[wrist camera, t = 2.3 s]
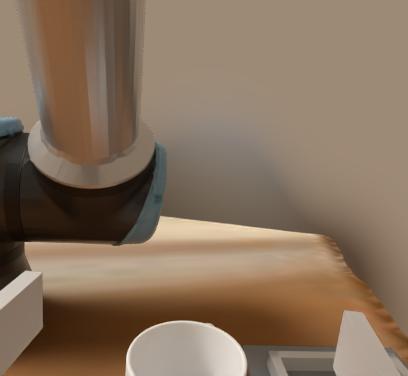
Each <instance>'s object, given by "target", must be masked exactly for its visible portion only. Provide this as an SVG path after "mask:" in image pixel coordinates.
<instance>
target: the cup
mask: <svg viewBox="0 0 408 376" xmlns="http://www.w3.org/2000/svg"><path fill="white" fill-rule="evenodd" d="M246 375H247V359H246V356H245V353H244V351H243V349H242V347H241V346H240V345H239V343H238V342H237V341H236V340H235V339H234V338H233V337H231V336H230V335H229V334H227V333H226V332H224V331H223V330H221V329H219V328H216V327H214V325H213V324H211V323H206V324H205V323H201V322H195V321H170V322H165V323H161V324H158V325H155V326H153V327H150V328H148V329H146V330H145V331H143V332H142V333H141V334H139V335H138V336H137V337H136V338H135V339H134V341H133V342H132V343H131V345H130V347H129V349H128V352H127V356H126V375H125V376H246Z"/></svg>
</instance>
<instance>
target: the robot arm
mask: <svg viewBox="0 0 408 376" xmlns="http://www.w3.org/2000/svg"><path fill="white" fill-rule="evenodd" d="M14 1H15V6H16V11H17V15H18V20H19V24H20V29H21V34H22V38H23V43H24V47H25V52H26V57H27V61H28V66H29V71H30V75H31V80H32V84H33V89H34V94H35V98H36V103H37V108H38V113H39V117H40V120H39V121H38V122H37V123H36V124H35V125H34V127H33V128H32V130H31V132H30V133H24V132H23V130H24V126H23V125H22V123H21V120H20V119H19V118H15V117H12V118H10V117H0V376H2V375H3V374H4V373H5V372H6V370H7V369H8V368H9V367H10V366H11V365H12V363H13V362H14V361H15V360H16V359H17V358H18V356H19V355H20V354H21V353H22V352H23V351H24V349H25V348H26V347H27V346H28V345H29V343H30V342H31V341H32V340H33V339H34V338H35V336H36V335H37V334H38V333H39V332H40V331H41V329H42V328H43V282H42V273H41V272H33V271H32V270H31V268H30V265H29V263H28V261H27V258H26V256H25V249H24V242H53V243H86V244H110V245H113V246H120V245H123V244H140V243H144V242H146V241H148V240H149V239H150V238H151V237H152V235H153V234H154V232H155V230H156V227H157V225H158V221H159V218H160V214H161V210H162V204H163V203H162V202H163V200H162V198H163V196H164V191H165V186H166V176H167V153H166V149H165V147H164V145H162V144H161V143H158V142H156V141H154V136H153V133H152V131H151V129H150V127H149V126H148V124H147V123H146V122H145V121H144V120H143V119H142V118H141V117H140V113H141V90H142V67H143V46H144V24H145V23H144V22H145V2H146V0H14ZM333 368H334V371H335V374H336V376H401V375H400V373H399V372H398V370H397V368H396V367H395V365H394V363H393V362H392V360H391V358H390V357H389V355H388V354H387V352H386V350H385V349H384V347H383V345H382V344H381V342H380V340H379V339H378V337H377V335H376V334H375V332H374V331H373V329H372V327H371V326H370V324H369V322H368V321H367V319H366V317H365V316H364V314H363V313H361V312H353V311H345V310H344V313H343V318H342V323H341V328H340V333H339V338H338V343H337V348H336V353H335V358H334V363H333Z"/></svg>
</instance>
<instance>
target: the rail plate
mask: <svg viewBox="0 0 408 376" xmlns="http://www.w3.org/2000/svg"><path fill="white" fill-rule="evenodd" d="M336 348H337V347H323V346H273V345H242V349H243V351H244V353H245V356H246V359H247V372H248V375H249V376H336V374H335V371H334V368H333V363H334V358H335V353H336ZM384 349H385V350H386V352H387V354H388V355H389V357H390V358H391V360H392V362H393V363H394V365H395V367H396V368H397V370H398V372H399V373H400V375H401V376H408V366H407V365H406V364H405V363H404V362H403V361H402V360H401V359H400V357H399V356H398V355H397V354H396V353H395V352H394V351H393V349H392V348H384Z"/></svg>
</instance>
